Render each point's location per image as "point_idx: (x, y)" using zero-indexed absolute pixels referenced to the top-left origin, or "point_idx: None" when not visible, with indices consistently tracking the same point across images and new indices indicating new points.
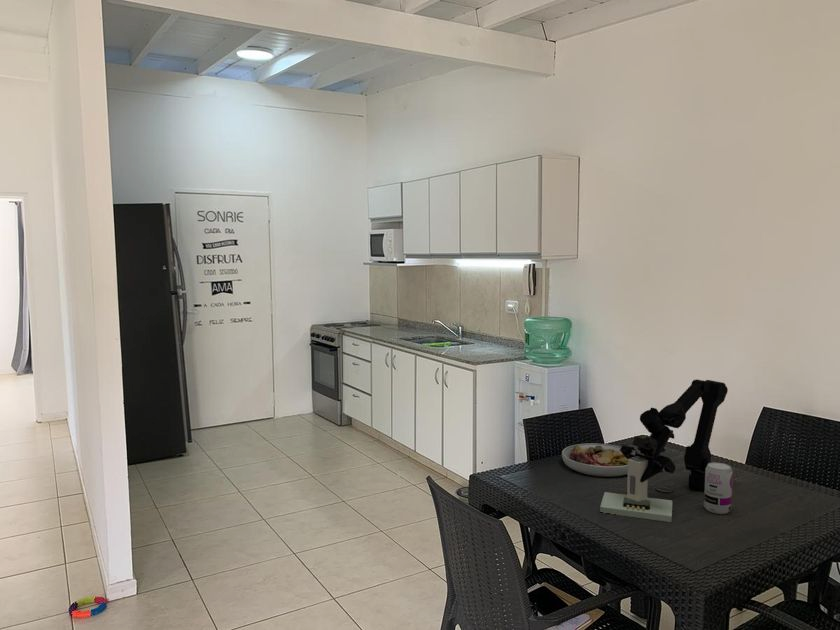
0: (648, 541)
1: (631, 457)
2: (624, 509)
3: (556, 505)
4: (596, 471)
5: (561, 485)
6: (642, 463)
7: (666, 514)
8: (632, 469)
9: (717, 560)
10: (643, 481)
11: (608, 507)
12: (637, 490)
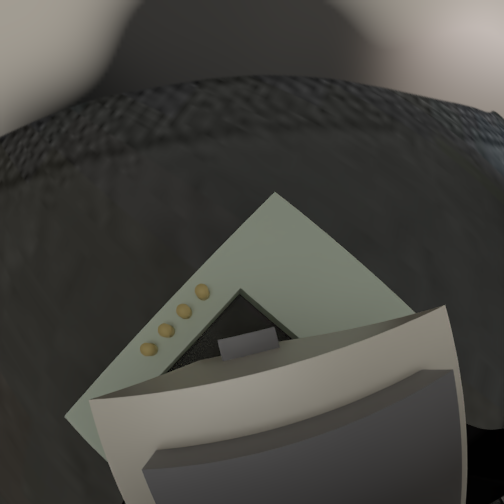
0: (20, 215)
1: (501, 452)
2: (203, 273)
3: (366, 126)
4: None
5: (496, 239)
6: (142, 501)
7: (84, 413)
8: (276, 352)
9: None
10: None
11: (254, 218)
12: (200, 361)
